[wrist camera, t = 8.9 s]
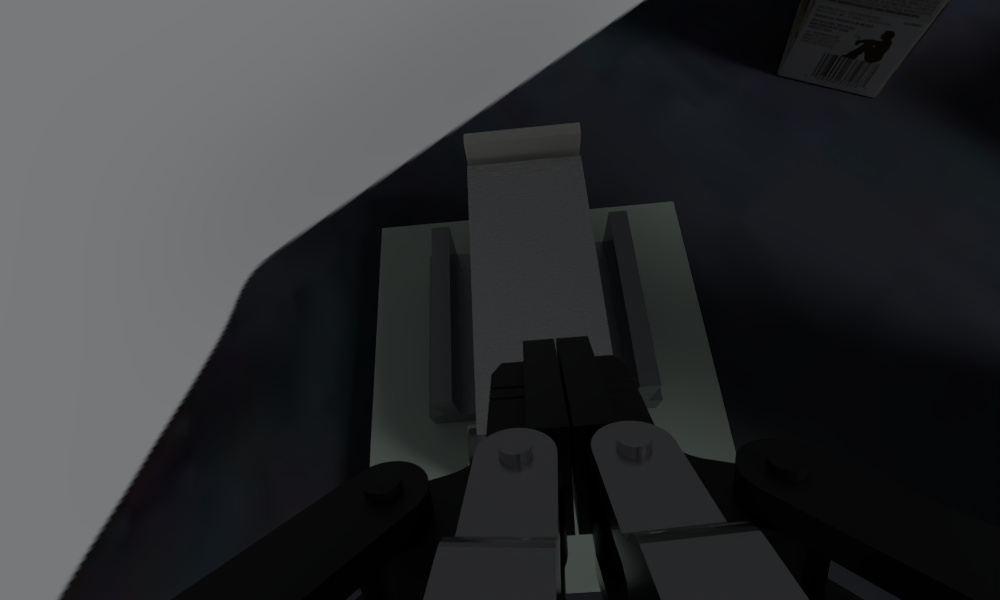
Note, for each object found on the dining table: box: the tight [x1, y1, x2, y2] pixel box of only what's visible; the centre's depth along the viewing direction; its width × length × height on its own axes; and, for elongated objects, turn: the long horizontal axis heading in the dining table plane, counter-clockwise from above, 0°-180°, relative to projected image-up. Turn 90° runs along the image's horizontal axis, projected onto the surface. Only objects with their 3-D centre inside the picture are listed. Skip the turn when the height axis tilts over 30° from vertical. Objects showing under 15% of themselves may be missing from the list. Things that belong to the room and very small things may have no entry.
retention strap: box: [467, 155, 613, 464], centre depth 20 cm, size 6×1×13 cm
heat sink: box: [429, 210, 663, 424], centre depth 23 cm, size 10×8×4 cm
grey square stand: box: [370, 123, 736, 593], centre depth 21 cm, size 16×18×8 cm
